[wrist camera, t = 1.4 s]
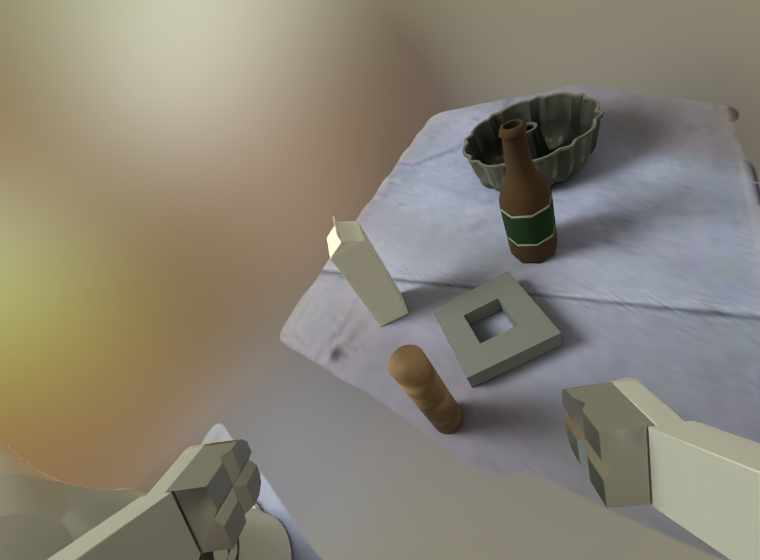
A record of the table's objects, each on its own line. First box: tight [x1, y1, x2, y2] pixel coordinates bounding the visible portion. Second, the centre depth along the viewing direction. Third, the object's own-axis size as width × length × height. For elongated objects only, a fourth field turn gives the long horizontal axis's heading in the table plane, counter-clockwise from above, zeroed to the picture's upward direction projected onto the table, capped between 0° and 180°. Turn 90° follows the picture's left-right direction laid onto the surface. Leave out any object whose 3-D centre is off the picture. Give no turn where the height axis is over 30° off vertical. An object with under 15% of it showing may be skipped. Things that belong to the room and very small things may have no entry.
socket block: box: [432, 272, 563, 387], centre depth 54 cm, size 14×14×3 cm
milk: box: [327, 216, 409, 326], centre depth 61 cm, size 6×6×22 cm
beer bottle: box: [499, 118, 557, 263], centre depth 55 cm, size 8×8×24 cm
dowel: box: [388, 345, 463, 434], centre depth 44 cm, size 4×4×16 cm
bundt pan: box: [462, 92, 603, 192], centre depth 75 cm, size 26×26×10 cm
